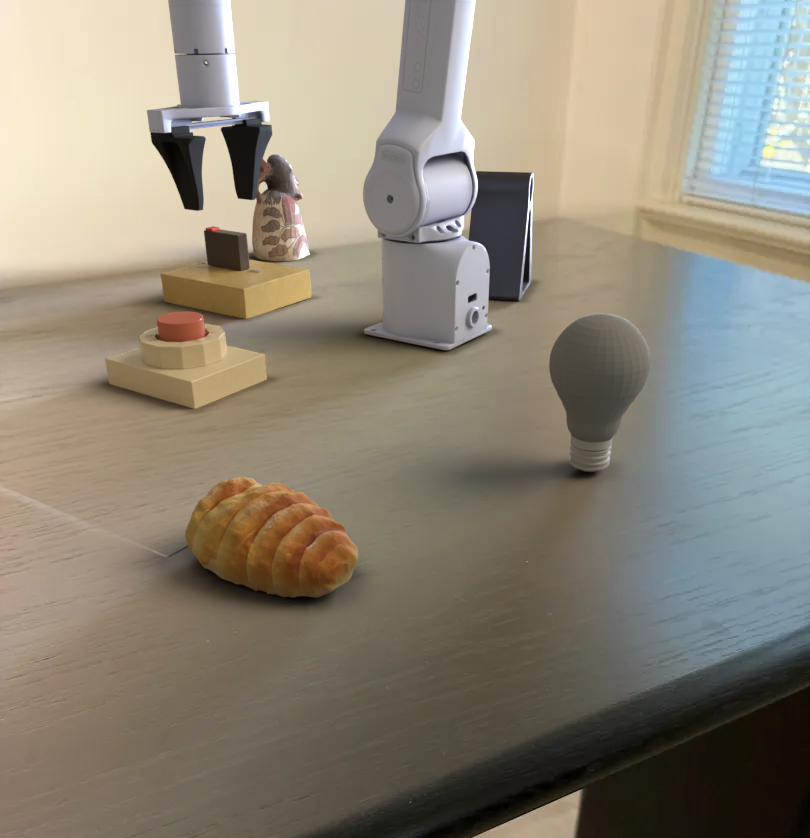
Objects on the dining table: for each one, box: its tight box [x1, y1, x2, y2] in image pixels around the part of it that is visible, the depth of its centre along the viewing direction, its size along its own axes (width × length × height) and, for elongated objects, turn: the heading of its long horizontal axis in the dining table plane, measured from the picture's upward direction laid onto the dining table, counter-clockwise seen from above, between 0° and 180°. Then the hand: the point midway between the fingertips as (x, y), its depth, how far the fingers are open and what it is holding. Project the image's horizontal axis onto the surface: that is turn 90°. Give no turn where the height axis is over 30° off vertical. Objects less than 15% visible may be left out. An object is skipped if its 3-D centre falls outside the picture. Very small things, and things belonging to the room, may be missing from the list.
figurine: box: [251, 153, 311, 262], centre depth 111 cm, size 7×7×12 cm
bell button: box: [155, 310, 206, 342], centre depth 70 cm, size 4×4×2 cm
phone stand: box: [468, 170, 535, 302], centre depth 95 cm, size 9×6×12 cm, turn 164°
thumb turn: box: [203, 226, 250, 271], centre depth 94 cm, size 5×1×4 cm, turn 55°
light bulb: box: [548, 312, 652, 473], centre depth 55 cm, size 6×6×10 cm
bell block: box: [104, 322, 268, 410], centre depth 71 cm, size 10×8×4 cm
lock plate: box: [160, 259, 312, 320], centre depth 94 cm, size 13×10×3 cm
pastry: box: [184, 476, 359, 598], centre depth 46 cm, size 9×7×4 cm
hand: (221, 204), depth 92 cm, fingers open, 7 cm apart
